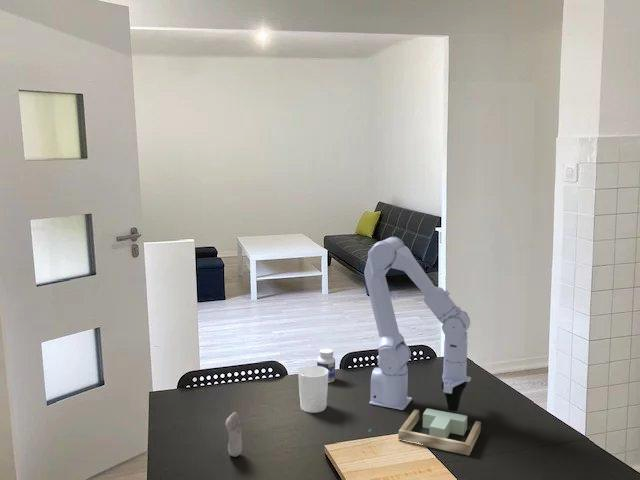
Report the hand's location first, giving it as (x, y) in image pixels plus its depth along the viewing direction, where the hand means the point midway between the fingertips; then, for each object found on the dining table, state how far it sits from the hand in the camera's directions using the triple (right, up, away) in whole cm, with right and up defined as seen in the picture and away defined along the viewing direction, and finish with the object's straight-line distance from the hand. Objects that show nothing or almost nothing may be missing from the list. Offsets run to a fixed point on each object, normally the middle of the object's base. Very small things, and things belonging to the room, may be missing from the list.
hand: (453, 410), depth 158 cm
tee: (-5, -3, -11) cm, 12 cm away
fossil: (-53, -4, -21) cm, 57 cm away
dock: (-5, -3, -11) cm, 13 cm away
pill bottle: (-32, +2, +23) cm, 40 cm away
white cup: (-36, -1, +4) cm, 36 cm away
